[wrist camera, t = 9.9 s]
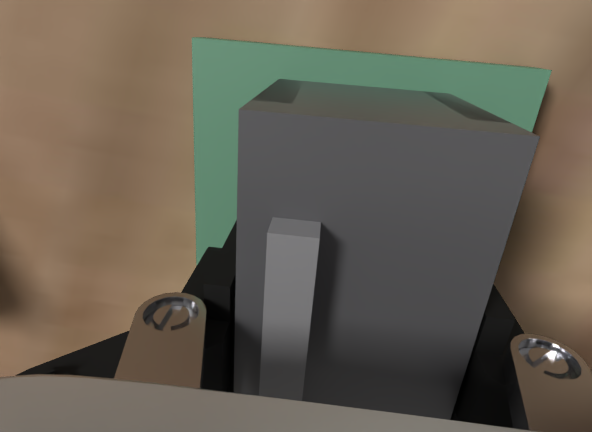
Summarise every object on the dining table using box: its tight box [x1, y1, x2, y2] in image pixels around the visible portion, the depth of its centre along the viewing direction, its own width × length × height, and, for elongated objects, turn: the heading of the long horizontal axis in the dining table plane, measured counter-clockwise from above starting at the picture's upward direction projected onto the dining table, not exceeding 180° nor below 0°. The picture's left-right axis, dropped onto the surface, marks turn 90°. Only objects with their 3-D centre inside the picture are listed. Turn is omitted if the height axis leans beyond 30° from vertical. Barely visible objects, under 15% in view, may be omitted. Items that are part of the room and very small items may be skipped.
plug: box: [234, 79, 540, 420], centre depth 10 cm, size 9×4×6 cm, turn 176°
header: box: [192, 37, 552, 265], centre depth 12 cm, size 12×9×4 cm
